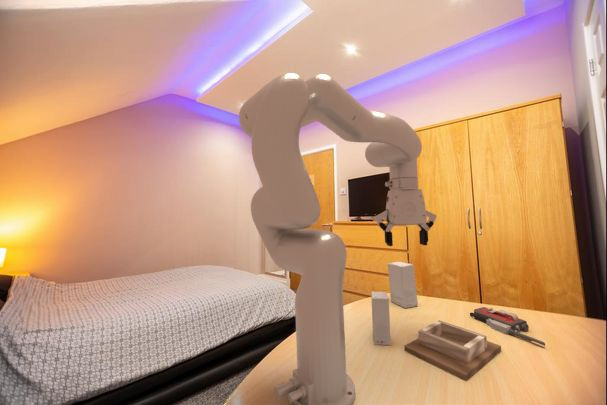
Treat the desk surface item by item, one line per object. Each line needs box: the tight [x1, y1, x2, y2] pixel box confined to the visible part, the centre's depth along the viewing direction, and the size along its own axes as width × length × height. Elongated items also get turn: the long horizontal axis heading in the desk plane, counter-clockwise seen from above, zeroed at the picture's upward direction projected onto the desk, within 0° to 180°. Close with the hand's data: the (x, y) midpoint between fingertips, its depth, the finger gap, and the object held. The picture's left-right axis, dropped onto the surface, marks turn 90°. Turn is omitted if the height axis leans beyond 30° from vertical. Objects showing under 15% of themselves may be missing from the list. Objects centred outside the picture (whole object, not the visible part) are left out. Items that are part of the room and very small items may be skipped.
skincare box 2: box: [387, 261, 419, 309], centre depth 94 cm, size 8×6×15 cm
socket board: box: [403, 319, 502, 382], centre depth 62 cm, size 18×14×4 cm
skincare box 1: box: [370, 291, 392, 346], centre depth 69 cm, size 6×4×12 cm
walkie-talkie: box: [469, 306, 546, 347], centre depth 72 cm, size 9×4×20 cm
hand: (406, 245), depth 72 cm, fingers open, 9 cm apart
